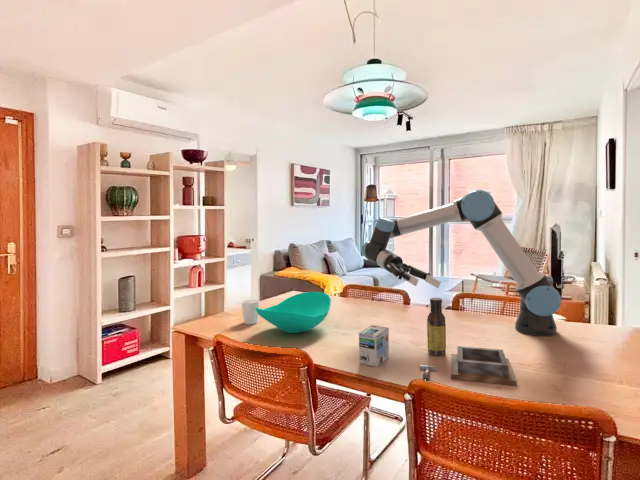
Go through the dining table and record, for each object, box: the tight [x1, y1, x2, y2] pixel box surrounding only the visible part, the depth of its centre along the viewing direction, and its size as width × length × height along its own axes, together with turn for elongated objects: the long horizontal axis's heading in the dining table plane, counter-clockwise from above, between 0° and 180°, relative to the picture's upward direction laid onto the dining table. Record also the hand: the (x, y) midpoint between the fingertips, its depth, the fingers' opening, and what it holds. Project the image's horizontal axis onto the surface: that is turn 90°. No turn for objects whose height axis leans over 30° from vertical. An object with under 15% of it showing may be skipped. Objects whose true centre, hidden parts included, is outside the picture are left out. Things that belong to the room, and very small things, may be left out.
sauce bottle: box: [426, 297, 447, 357], centre depth 143 cm, size 6×6×20 cm
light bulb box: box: [358, 324, 390, 368], centre depth 138 cm, size 11×7×11 cm, turn 148°
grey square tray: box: [450, 345, 518, 387], centre depth 128 cm, size 18×18×5 cm
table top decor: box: [256, 291, 332, 334], centre depth 174 cm, size 40×28×13 cm
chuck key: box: [419, 364, 437, 381], centre depth 126 cm, size 9×5×2 cm, turn 162°
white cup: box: [241, 299, 260, 325], centre depth 189 cm, size 8×8×10 cm
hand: (428, 283), depth 152 cm, fingers open, 13 cm apart
